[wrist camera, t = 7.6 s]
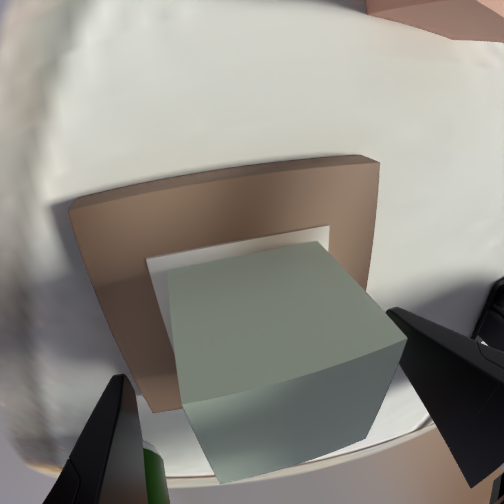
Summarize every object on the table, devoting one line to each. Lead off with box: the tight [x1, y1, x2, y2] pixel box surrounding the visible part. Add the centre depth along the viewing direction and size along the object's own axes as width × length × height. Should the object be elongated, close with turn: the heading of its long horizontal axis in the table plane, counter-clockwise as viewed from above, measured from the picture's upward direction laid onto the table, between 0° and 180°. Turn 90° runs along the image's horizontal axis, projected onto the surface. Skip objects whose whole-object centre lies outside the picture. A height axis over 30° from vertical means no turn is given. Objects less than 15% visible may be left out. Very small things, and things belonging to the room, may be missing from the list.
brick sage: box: [167, 241, 407, 484], centre depth 9 cm, size 5×5×5 cm
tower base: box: [68, 155, 380, 413], centre depth 12 cm, size 10×10×1 cm
